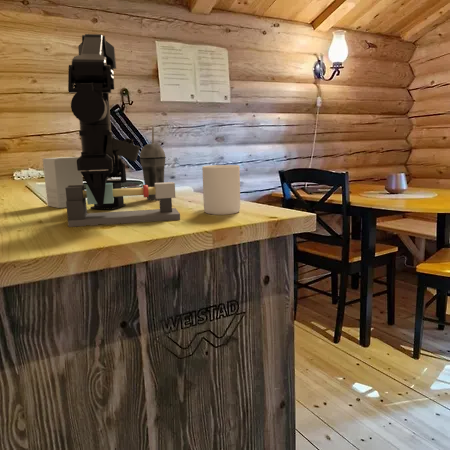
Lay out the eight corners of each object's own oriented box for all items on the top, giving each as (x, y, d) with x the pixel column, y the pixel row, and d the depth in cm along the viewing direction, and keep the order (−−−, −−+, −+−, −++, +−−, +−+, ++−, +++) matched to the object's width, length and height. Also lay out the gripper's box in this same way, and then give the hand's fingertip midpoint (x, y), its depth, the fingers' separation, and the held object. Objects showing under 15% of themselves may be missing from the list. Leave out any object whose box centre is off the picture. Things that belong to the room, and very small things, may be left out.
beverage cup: (137, 200, 117) (132, 127, 113) (149, 197, 123) (145, 127, 119) (161, 201, 114) (157, 126, 110) (172, 197, 121) (168, 126, 117)
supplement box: (86, 205, 111) (81, 156, 109) (58, 208, 106) (53, 158, 104) (73, 202, 116) (69, 156, 114) (46, 206, 111) (41, 157, 109)
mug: (191, 209, 100) (189, 165, 98) (222, 205, 104) (221, 163, 102) (213, 216, 90) (212, 167, 88) (247, 212, 94) (246, 165, 92)
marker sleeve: (87, 204, 84) (85, 185, 84) (89, 202, 88) (87, 183, 87) (113, 203, 85) (111, 184, 85) (113, 200, 89) (112, 182, 88)
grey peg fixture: (68, 226, 82) (64, 188, 81) (73, 219, 90) (69, 184, 88) (180, 219, 87) (178, 183, 86) (175, 213, 95) (174, 180, 93)
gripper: (137, 122, 76) (142, 207, 79) (135, 126, 94) (139, 195, 97) (72, 123, 74) (80, 211, 77) (83, 127, 92) (89, 198, 95)
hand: (101, 203), depth 87 cm, fingers closed on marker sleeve, 4 cm apart
